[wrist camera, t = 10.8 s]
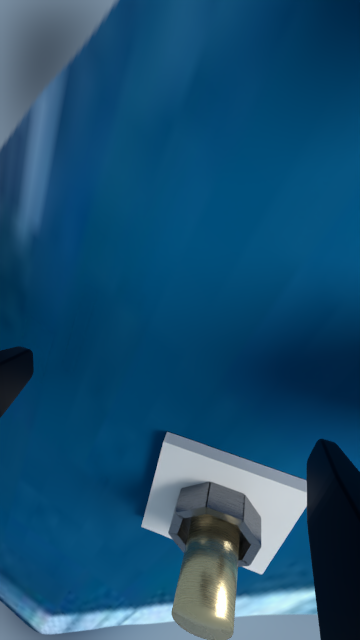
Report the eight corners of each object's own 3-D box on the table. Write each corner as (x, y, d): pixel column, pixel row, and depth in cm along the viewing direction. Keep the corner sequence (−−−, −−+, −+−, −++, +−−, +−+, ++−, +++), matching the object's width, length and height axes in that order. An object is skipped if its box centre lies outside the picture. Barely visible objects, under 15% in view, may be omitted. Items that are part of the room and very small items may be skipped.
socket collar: (269, 503, 26) (270, 531, 24) (243, 549, 30) (242, 578, 28) (186, 472, 27) (180, 496, 25) (170, 521, 31) (163, 546, 29)
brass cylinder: (246, 508, 27) (241, 622, 20) (233, 535, 29) (223, 648, 22) (200, 490, 28) (178, 595, 21) (189, 518, 30) (166, 623, 23)
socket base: (311, 482, 26) (313, 495, 25) (261, 561, 32) (261, 574, 31) (167, 431, 28) (163, 441, 26) (145, 515, 33) (141, 526, 32)
